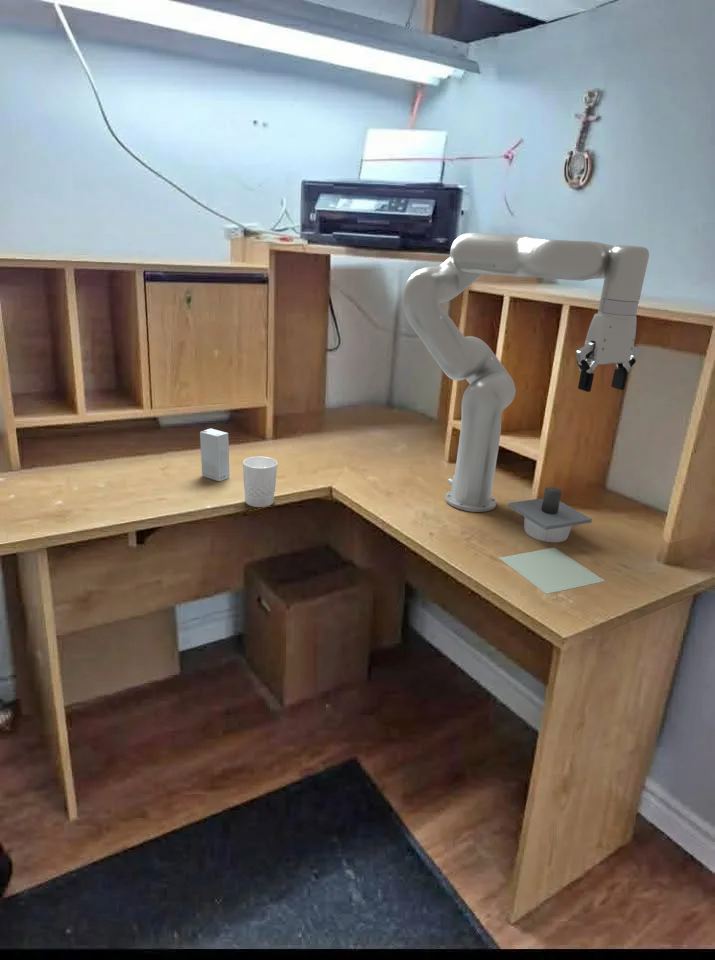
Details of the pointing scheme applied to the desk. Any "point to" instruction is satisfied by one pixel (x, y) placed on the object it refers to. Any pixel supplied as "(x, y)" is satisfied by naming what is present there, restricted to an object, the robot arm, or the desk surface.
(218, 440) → the skincare box
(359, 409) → the desk surface
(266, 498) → the white cup
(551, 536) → the ramekin
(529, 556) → the mat
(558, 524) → the lid
